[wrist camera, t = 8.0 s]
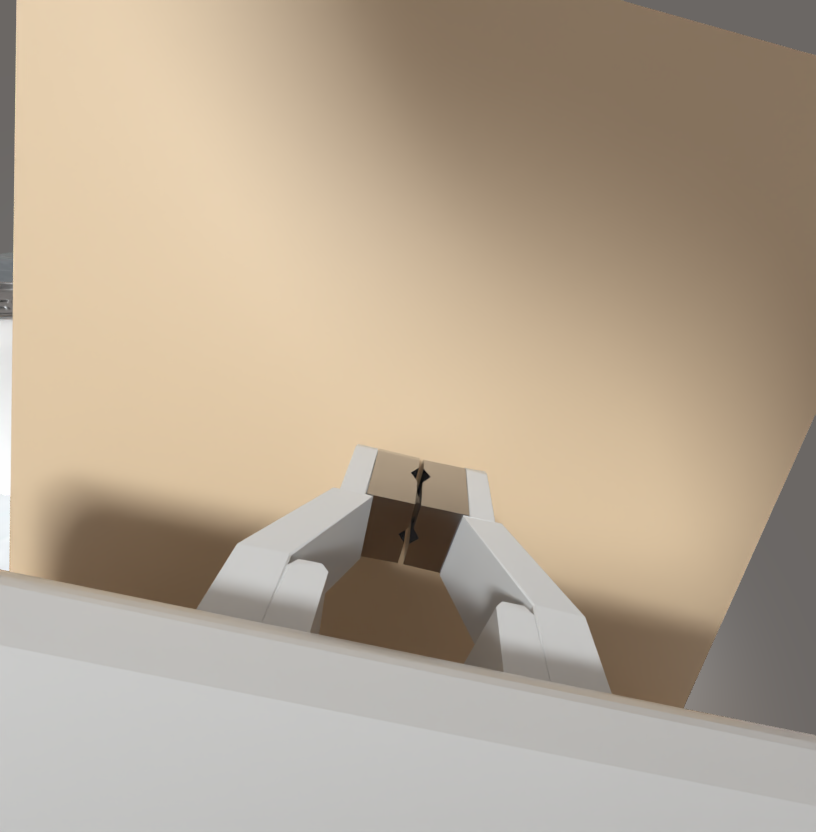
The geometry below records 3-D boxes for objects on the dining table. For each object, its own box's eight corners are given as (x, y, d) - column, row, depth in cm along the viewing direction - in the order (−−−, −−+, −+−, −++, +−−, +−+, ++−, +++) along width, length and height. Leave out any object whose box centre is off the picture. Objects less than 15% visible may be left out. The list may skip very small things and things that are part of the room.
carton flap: (957, 95, 7) (930, 108, 8) (19, -170, 7) (41, -141, 7) (681, 714, 10) (670, 700, 11) (9, 589, 10) (24, 579, 10)
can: (111, 433, 29) (71, 281, 23) (124, 483, 25) (80, 316, 19) (-7, 454, 25) (-93, 276, 19) (-14, 517, 21) (-125, 320, 15)
